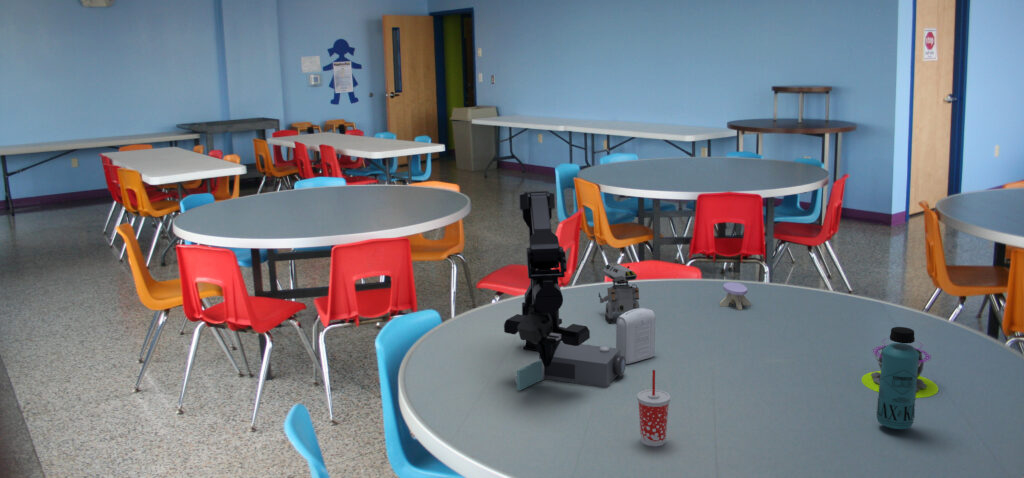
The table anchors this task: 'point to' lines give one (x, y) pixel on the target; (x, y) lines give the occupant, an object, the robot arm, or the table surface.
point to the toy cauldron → (923, 384)
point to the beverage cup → (653, 415)
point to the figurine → (620, 291)
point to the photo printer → (636, 334)
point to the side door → (530, 375)
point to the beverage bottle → (898, 380)
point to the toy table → (735, 295)
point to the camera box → (585, 365)
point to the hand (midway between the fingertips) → (546, 366)
